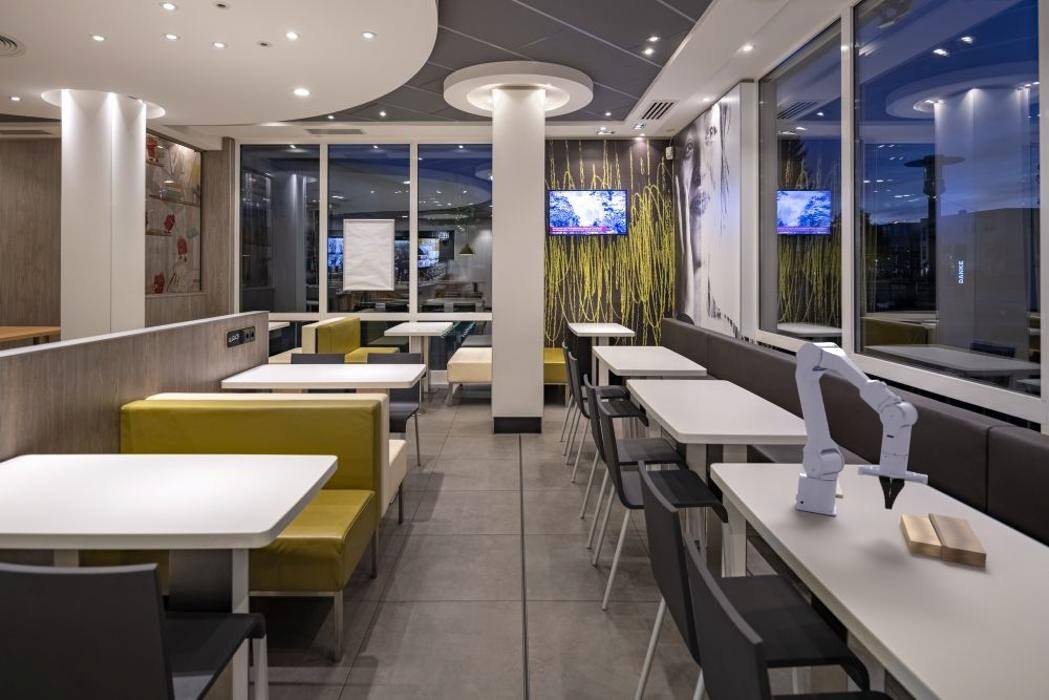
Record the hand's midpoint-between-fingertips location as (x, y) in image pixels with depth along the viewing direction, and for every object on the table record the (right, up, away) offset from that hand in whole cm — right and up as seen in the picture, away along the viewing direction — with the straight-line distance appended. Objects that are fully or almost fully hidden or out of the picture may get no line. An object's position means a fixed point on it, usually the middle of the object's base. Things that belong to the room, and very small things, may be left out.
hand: (888, 508), depth 162 cm
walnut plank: (+12, -7, -5) cm, 15 cm away
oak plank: (+6, -7, -3) cm, 10 cm away
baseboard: (+2, -3, +43) cm, 43 cm away
